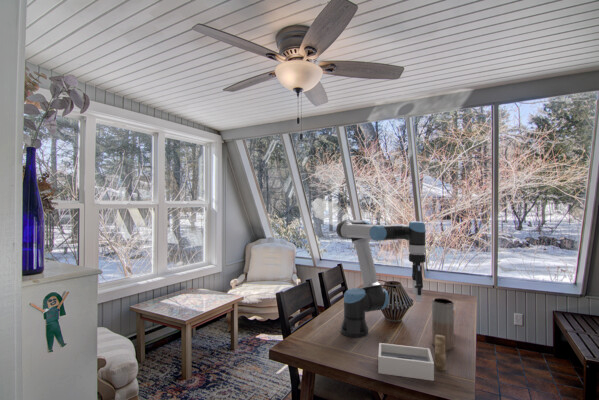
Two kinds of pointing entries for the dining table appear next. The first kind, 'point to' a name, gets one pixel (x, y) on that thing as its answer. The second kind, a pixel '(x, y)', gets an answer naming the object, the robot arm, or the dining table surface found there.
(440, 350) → the dowel
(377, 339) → the dining table surface
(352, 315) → the robot arm
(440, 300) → the planter
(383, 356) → the box
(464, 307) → the dining table surface
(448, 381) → the dining table surface
